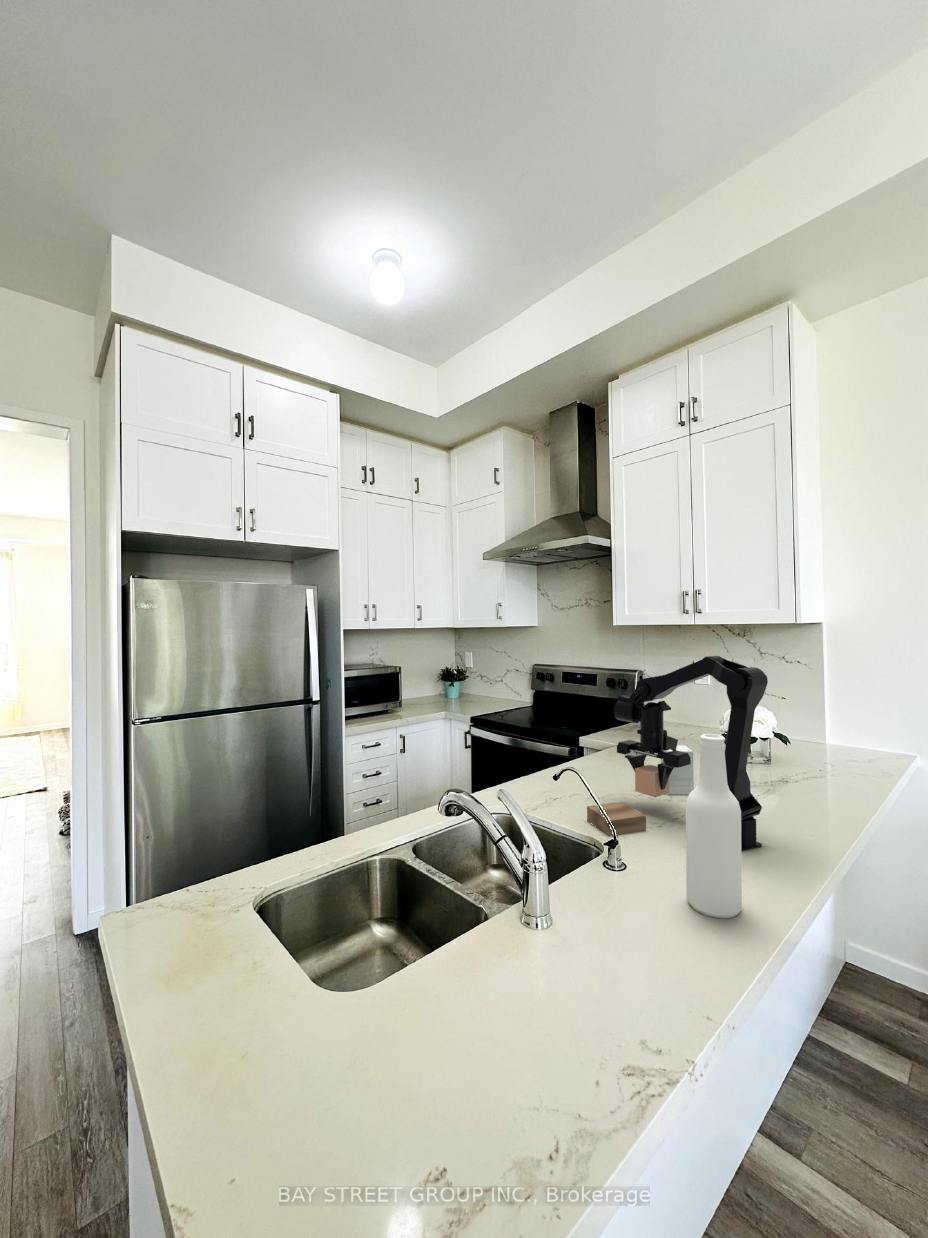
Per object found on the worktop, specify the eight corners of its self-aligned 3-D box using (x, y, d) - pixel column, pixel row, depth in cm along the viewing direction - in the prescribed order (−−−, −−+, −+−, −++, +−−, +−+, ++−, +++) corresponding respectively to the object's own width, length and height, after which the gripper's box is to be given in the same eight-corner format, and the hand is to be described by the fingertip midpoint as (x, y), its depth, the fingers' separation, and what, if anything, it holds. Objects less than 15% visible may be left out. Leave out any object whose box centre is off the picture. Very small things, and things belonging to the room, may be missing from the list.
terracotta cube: (669, 793, 137) (669, 769, 137) (655, 797, 134) (654, 773, 134) (649, 787, 142) (649, 764, 142) (635, 791, 139) (635, 768, 139)
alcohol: (739, 926, 87) (738, 744, 87) (682, 911, 92) (681, 738, 92) (743, 901, 95) (742, 733, 95) (690, 888, 99) (689, 728, 99)
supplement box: (686, 787, 158) (685, 745, 158) (694, 795, 151) (694, 751, 151) (660, 786, 159) (660, 744, 159) (667, 795, 152) (667, 750, 152)
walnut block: (645, 832, 126) (645, 815, 126) (608, 838, 123) (608, 820, 123) (622, 817, 136) (621, 802, 136) (587, 822, 133) (587, 806, 133)
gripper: (703, 728, 135) (703, 789, 135) (641, 717, 150) (641, 772, 150) (677, 734, 128) (677, 798, 128) (615, 721, 144) (615, 779, 144)
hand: (652, 786), depth 138 cm, fingers closed on terracotta cube, 6 cm apart
